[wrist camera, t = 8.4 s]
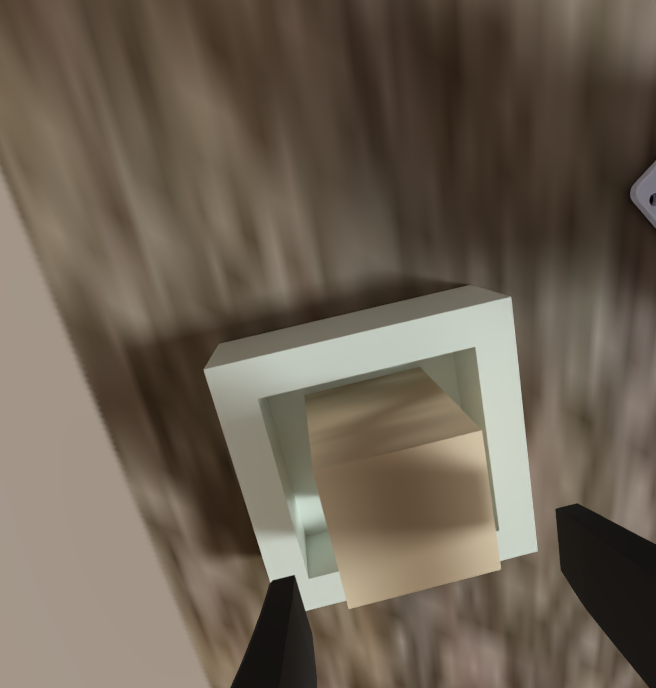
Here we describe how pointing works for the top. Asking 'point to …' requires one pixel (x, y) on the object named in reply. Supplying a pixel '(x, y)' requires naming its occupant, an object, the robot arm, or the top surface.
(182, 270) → the top surface
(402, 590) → the block
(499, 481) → the dish
